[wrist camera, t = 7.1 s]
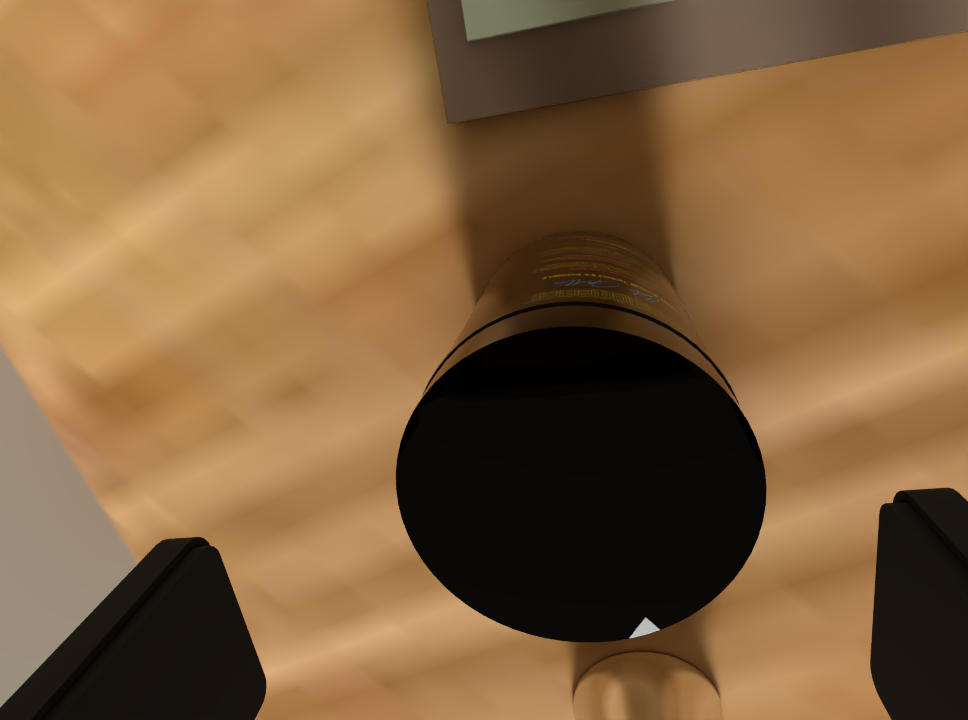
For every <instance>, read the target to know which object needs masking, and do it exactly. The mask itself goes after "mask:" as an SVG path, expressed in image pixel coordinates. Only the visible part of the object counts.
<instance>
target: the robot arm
mask: <svg viewBox="0 0 968 720" xmlns="http://www.w3.org/2000/svg"><path fill="white" fill-rule="evenodd" d="M870 665H871V674H872V678H873V682H874V685H875V688H876V691H877V693H878V695H879V697H880V699H881V701H882V703H883V705H884V706H885V708H886V710H887V712H888V714H889V716H890V718H891V719H892V720H968V501H967V500H966V499H965V498H964V497H962V496H961V495H960V494H959V493H958V492H957V491H955V490H954V489H951V488H935V489H920V490H905V491H899V492H898V493H896V495H895V497H894V500H893V503H885V504H883V505H882V507H881V508H880V514H879V529H878V545H877V562H876V578H875V594H874V611H873V627H872V643H871V660H870ZM265 694H266V678H265V675H264V672H263V669H262V666H261V664H260V661H259V658H258V656H257V653H256V650H255V648H254V645H253V642H252V639H251V637H250V634H249V631H248V629H247V626H246V623H245V620H244V618H243V615H242V612H241V610H240V607H239V604H238V602H237V599H236V596H235V593H234V591H233V588H232V585H231V583H230V580H229V577H228V575H227V572H226V569H225V566H224V564H223V561H222V558H221V556H220V553H219V551H218V550H217V549H216V548H215V547H213V546H210V544H209V542H208V541H206V540H205V539H204V538H201V537H191V538H176V539H166V540H162V541H161V542H160V543H158V544H157V545H156V546H155V547H154V548H153V549H152V550H151V551H150V552H149V553H148V554H147V555H146V556H145V557H144V558H143V559H142V560H141V561H140V563H139V564H138V565H137V566H136V567H135V568H134V569H133V570H132V571H131V572H130V573H129V574H128V575H127V576H126V577H125V578H124V579H123V580H122V581H121V582H120V583H119V584H118V586H116V588H115V589H114V590H113V591H112V592H111V593H110V594H109V595H108V596H107V597H106V598H105V599H104V600H103V601H102V602H101V603H100V604H99V605H98V606H97V608H96V609H94V611H93V612H92V613H91V614H90V615H89V616H88V617H87V618H86V619H85V620H84V621H83V622H82V623H81V624H80V625H79V626H78V627H77V628H76V629H75V630H74V632H73V633H72V634H70V636H69V637H68V638H67V639H66V640H65V641H64V642H63V643H62V644H61V645H60V646H59V647H58V648H57V649H56V650H55V651H54V652H53V653H52V654H51V656H50V657H48V658H47V660H46V661H45V662H44V663H43V664H42V665H41V666H40V667H39V668H38V669H37V670H36V671H35V672H34V673H33V674H32V675H31V676H30V677H29V678H28V679H27V681H26V682H25V683H24V684H23V685H22V686H21V687H20V688H19V689H18V690H17V691H16V692H15V693H14V694H13V695H12V696H11V697H10V698H9V699H8V700H7V701H6V702H5V703H4V704H3V706H2V707H1V708H0V720H255V718H256V716H257V714H258V712H259V710H260V708H261V706H262V704H263V701H264V698H265Z"/></svg>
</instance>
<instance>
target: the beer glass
mask: <svg viewBox="0 0 968 720" xmlns="http://www.w3.org/2000/svg"><path fill="white" fill-rule="evenodd" d="M573 708H574V716H575V720H723V713H722V706H721V701H720V698H719V696H718V693H717V691H716V689H715V688H714V686H713V685H712V683H711V682H710V681H709V680H708V678H707V677H706V676H705V675H704V674H702V673H701V672H700V671H699V670H697V669H696V668H695V667H693V666H691V665H690V664H688V663H686V662H684V661H682V660H680V659H677V658H675V657H672V656H668V655H664V654H660V653H653V652H630V653H623V654H619V655H615V656H612V657H609V658H607V659H605V660H602V661H601V662H599V663H597V664H596V665H594V666H593V667H591V668H590V669H589V670H588V671H587V672H586V673H585V674H584V675H583V676H582V678H581V679H580V681H579V683H578V685H577V687H576V690H575V693H574V699H573Z"/></svg>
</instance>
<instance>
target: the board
mask: <svg viewBox="0 0 968 720" xmlns="http://www.w3.org/2000/svg"><path fill="white" fill-rule="evenodd" d="M427 5H428V11H429V17H430V23H431V29H432V35H433V41H434V46H435V52H436V58H437V64H438V70H439V76H440V82H441V87H442V93H443V99H444V105H445V111H446V117H447V123H458V122H464V121H469V120H475V119H481V118H486V117H492V116H497V115H503V114H509V113H514V112H520V111H525V110H531V109H537V108H542V107H548V106H553V105H559V104H565V103H570V102H576V101H581V100H587V99H593V98H598V97H604V96H609V95H615V94H621V93H626V92H632V91H637V90H643V89H649V88H654V87H660V86H665V85H671V84H677V83H682V82H688V81H693V80H699V79H705V78H710V77H716V76H721V75H727V74H733V73H738V72H744V71H749V70H755V69H761V68H766V67H772V66H777V65H783V64H789V63H794V62H800V61H805V60H811V59H817V58H822V57H828V56H833V55H839V54H845V53H850V52H856V51H861V50H867V49H873V48H878V47H884V46H889V45H895V44H901V43H906V42H912V41H917V40H923V39H929V38H934V37H940V36H945V35H951V34H957V33H962V32H968V0H427Z"/></svg>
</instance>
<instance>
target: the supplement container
mask: <svg viewBox="0 0 968 720" xmlns="http://www.w3.org/2000/svg"><path fill="white" fill-rule="evenodd" d="M396 490H397V498H398V505H399V509H400V513H401V517H402V520H403V523H404V525H405V528H406V531H407V533H408V536H409V538H410V540H411V542H412V544H413V546H414V548H415V549H416V551H417V552H418V554H419V556H420V557H421V559H422V560H423V562H424V563H425V564H426V566H427V567H428V568H429V570H430V571H431V572H432V574H433V575H434V576H435V577H436V578H437V579H438V580H439V581H440V582H441V583H442V584H443V585H444V586H445V587H446V588H447V589H448V590H449V591H450V592H451V593H453V594H454V595H455V596H456V597H457V598H459V599H460V600H461V601H463V602H464V603H465V604H467V605H468V606H469V607H471V608H473V609H474V610H476V611H477V612H479V613H481V614H482V615H484V616H486V617H488V618H490V619H492V620H494V621H496V622H498V623H500V624H503V625H505V626H507V627H510V628H512V629H515V630H518V631H521V632H524V633H527V634H531V635H535V636H539V637H543V638H548V639H554V640H560V641H570V642H607V641H617V640H623V639H629V638H634V637H638V636H642V635H646V634H649V633H652V632H655V631H658V630H661V629H664V628H666V627H668V626H671V625H673V624H675V623H677V622H680V621H682V620H683V619H685V618H687V617H689V616H690V615H692V614H694V613H696V612H697V611H698V610H700V609H701V608H703V607H704V606H706V605H707V604H708V603H710V602H711V601H712V600H713V599H714V598H715V597H717V596H718V595H719V594H720V593H721V592H722V591H723V590H724V589H725V588H726V587H727V586H728V585H729V584H730V583H731V582H732V581H733V579H734V578H735V577H736V575H737V574H738V573H739V571H740V570H741V569H742V567H743V566H744V564H745V562H746V561H747V559H748V557H749V556H750V554H751V552H752V550H753V548H754V545H755V543H756V541H757V539H758V536H759V532H760V529H761V526H762V522H763V517H764V512H765V506H766V478H765V469H764V464H763V460H762V455H761V451H760V449H759V446H758V443H757V440H756V437H755V435H754V433H753V431H752V429H751V427H750V425H749V423H748V421H747V419H746V417H745V415H744V413H743V412H742V410H741V408H740V406H739V403H738V400H737V398H736V396H735V394H734V392H733V390H732V388H731V386H730V384H729V382H728V381H727V379H726V378H725V376H724V375H723V373H722V372H721V370H720V369H719V367H718V366H717V365H716V363H715V362H714V361H713V360H712V358H711V357H710V355H709V353H708V351H707V349H706V347H705V345H704V344H703V342H702V340H701V338H700V336H699V334H698V333H697V331H696V329H695V327H694V325H693V323H692V321H691V320H690V318H689V316H688V314H687V312H686V310H685V309H684V307H683V305H682V303H681V301H680V299H679V297H678V296H677V294H676V292H675V290H674V288H673V286H672V285H671V283H670V281H669V279H668V278H667V276H666V275H665V273H664V272H663V271H662V270H661V268H660V267H659V266H658V265H657V264H656V263H655V262H654V261H653V260H652V259H651V258H650V257H649V256H648V255H646V254H645V253H644V252H643V251H641V250H640V249H638V248H636V247H635V246H633V245H632V244H630V243H627V242H625V241H623V240H621V239H618V238H615V237H613V236H609V235H605V234H601V233H594V232H580V231H577V232H565V233H560V234H555V235H551V236H548V237H544V238H542V239H539V240H537V241H534V242H533V243H531V244H529V245H527V246H525V247H523V248H522V249H520V250H519V251H517V252H516V253H515V254H514V255H512V256H511V257H510V258H509V259H508V260H507V261H506V262H505V263H504V264H503V265H502V266H501V267H500V268H499V269H498V271H497V272H496V273H495V274H494V276H493V277H492V279H491V281H490V282H489V284H488V285H487V287H486V289H485V291H484V292H483V294H482V296H481V298H480V299H479V301H478V303H477V305H476V306H475V308H474V310H473V312H472V313H471V315H470V317H469V319H468V320H467V322H466V324H465V326H464V327H463V329H462V331H461V333H460V334H459V336H458V338H457V340H456V341H455V343H454V345H453V347H452V348H451V350H450V352H449V353H448V354H447V356H446V357H445V358H444V359H443V361H442V362H441V363H440V365H439V366H438V368H437V369H436V371H435V372H434V374H433V375H432V377H431V379H430V381H429V383H428V385H427V387H426V389H425V391H424V393H423V395H422V397H421V399H420V401H419V403H418V404H417V406H416V408H415V409H414V411H413V413H412V415H411V417H410V419H409V421H408V423H407V425H406V428H405V431H404V434H403V437H402V440H401V443H400V448H399V452H398V457H397V467H396Z"/></svg>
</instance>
